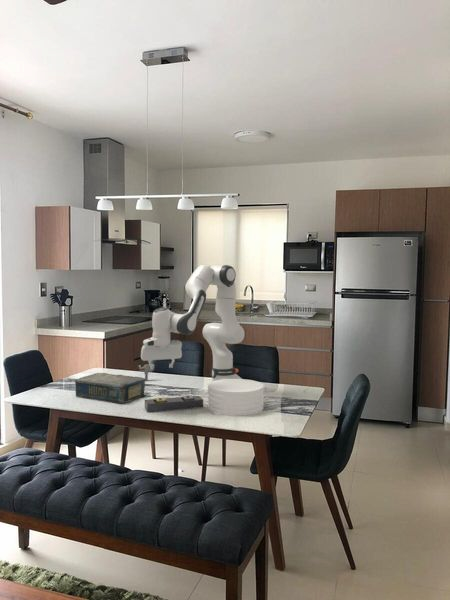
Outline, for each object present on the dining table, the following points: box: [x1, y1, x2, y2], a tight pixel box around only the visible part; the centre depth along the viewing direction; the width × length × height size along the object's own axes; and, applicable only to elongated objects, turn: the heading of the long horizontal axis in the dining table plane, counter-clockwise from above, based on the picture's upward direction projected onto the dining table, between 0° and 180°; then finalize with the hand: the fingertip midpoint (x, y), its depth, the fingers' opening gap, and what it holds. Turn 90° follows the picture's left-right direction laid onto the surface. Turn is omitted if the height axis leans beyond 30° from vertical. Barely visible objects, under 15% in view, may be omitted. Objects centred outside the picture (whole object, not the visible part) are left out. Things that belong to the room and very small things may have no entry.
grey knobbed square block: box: [181, 395, 193, 401], centre depth 245 cm, size 4×4×5 cm
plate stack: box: [207, 378, 265, 416], centre depth 245 cm, size 28×28×12 cm
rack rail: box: [144, 395, 204, 413], centre depth 243 cm, size 28×8×4 cm, turn 109°
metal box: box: [74, 372, 146, 405], centre depth 263 cm, size 21×32×10 cm, turn 64°
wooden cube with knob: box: [154, 397, 166, 403], centre depth 240 cm, size 4×4×5 cm
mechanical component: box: [137, 363, 156, 382], centre depth 300 cm, size 3×10×10 cm, turn 107°
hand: (161, 368), depth 242 cm, fingers open, 8 cm apart
